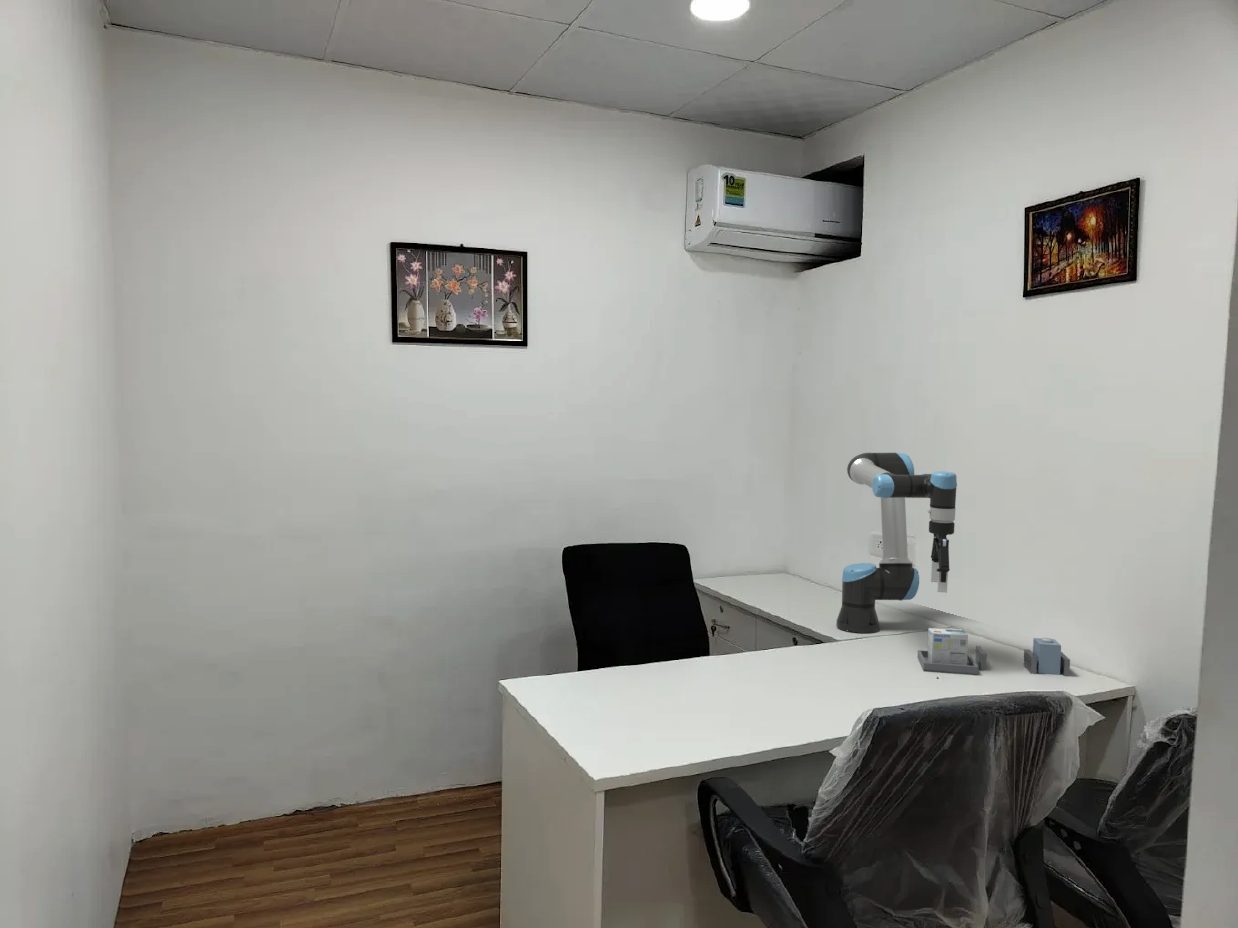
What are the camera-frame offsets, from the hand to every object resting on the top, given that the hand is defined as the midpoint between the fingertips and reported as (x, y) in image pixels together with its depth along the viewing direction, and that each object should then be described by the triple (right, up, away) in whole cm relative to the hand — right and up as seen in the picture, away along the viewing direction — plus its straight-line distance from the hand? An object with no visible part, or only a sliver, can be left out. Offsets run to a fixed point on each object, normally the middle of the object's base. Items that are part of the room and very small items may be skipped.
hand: (938, 587), depth 266 cm
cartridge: (+30, -24, -8) cm, 39 cm away
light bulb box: (+1, -24, -5) cm, 24 cm away
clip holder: (+23, -24, -7) cm, 34 cm away
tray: (+1, -24, -5) cm, 24 cm away
